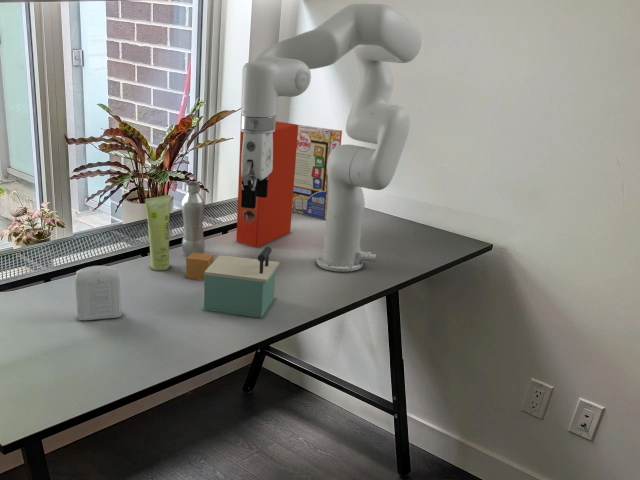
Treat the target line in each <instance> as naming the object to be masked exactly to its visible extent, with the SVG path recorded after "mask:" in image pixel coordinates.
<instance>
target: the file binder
mask: <svg viewBox="0 0 640 480" xmlns="http://www.w3.org/2000/svg"><path fill="white" fill-rule="evenodd" d="M298 125H299V124H296V123H289V122H283V121H277V120H275V131H274V132H273V170H272V172H271V173H270V174H269V175H268V179H266V180H268V192H267V197H266V198H264V197H256V207H255V208H254V209H252V208H243V207H241V196H242V181H243V179H242V176H241V161H242V147H243V137H244V132H242V131H239V132H240V134H239V157H238V161H239V162H238V187H237V211H236V212H237V214H236V240H235V241H236V242H237V243H239V244H242V245H246V246H250V247H254V248H259V247H262V246H264V245H266V244H268V243H271V242H273V241H275V240H277V239H280V238H281V237H284V236H286V235H289V234H290V233H291V227H292V216H293V215H292V213H293V212H292V202H293V189H294V176H295V163H296V149H297V136H298ZM252 182H253V181H251V183H252Z"/></svg>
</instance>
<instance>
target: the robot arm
mask: <svg viewBox="0 0 640 480" xmlns="http://www.w3.org/2000/svg"><path fill="white" fill-rule="evenodd" d="M421 48H422V33H421V30H420V29H419V27H418V25H417V24H416V23H414V21H412V20H411V19H409V18H408V17H407V16H405V15H404V14H403V13H401V12H400V11H399V10H398V9H396V8H394V7H392V6H390V5H388V4H382V3H352V4H349V5H347V6H346V5H345V7H343V8H341V9H340V10H339V11H337V12H336V13H335V14H333V15H332V16H331V17H329V18H328V19H327V20H326V21H324V22H322V23H321V24H320V25H318V26H316V27H315V28H314V29H311V30H309V31H304V32H303V33H302V32H301V33H299V34H296V35H294V36H291V37H288V38H286V39H283V40H281V41H278V42H276V43H274V44H272V45H271V46H269V47H268V48H266V49H265V50H263V51H262V52H261V53H260V54H258V55H257V56H256V57H255V58H254V59H253V60H252V61H248V62H246V63H244V65H243V67H242V72H241V99H240V100H241V101H240V128H239V130H240V131H242V132H244V137H243V147H242V161H241V176H242V179H243V181H242V196H241V207H243V208H252V209H254V208H255V207H256V197H264V198H266V197H267V192H268V180H266V179H268V175H269V174H270V173H271V172H272V170H273V132H274V131H275V122H276V121H277V120H276V119H277V118H276V116H277V101H278V100H277V99H278V97H285V98H286V97H288V98H293V97H298V96H300V95H302V94H304V93H305V92H306V91H307V90H308V89H309V87H310V84H311V79H312V73H311V70H316V69H320V68H325V67H329V66H331V65H334V64H336V63H337V61H339V60H340V59H341V58H343V57H344V56H345V55H347V54H348V53H349V52H351V51H352V50H353V52H354V54H355V57H356V60H357V65H358V70H359V81H358V85H357V88H356V92H355V95H354V98H353V99H352V100H353V101H352V103H351V106H350V110H349V113H348V116H347V119H346V122H345V133H346V135H347V136H348V137H349V138H350V139H352V140H354V141H355V140H356V141H358V142H363V143H368V144H374V145H376V148H370V147H366V146H361V145H354V144H348V143H347V144H341V145H340V146H337V147H336V148H334V149H333V150H332V151H331V153H330V154H329V157H328V160H327V175H328V204H327V215H326V219H325V228H324V236H323V237H324V239H323V250H322V254H320V255H319V256H318V257H317V258H316V264H317V266H319V267H320V268H321V269H324V270H327V271H331V272H336V273H337V272H338V273H341V272H342V273H349V272H355V271H358V270H360V269H362V268H363V266H364V261H365V262H372V263H373V262H376V258H377V254H374V253H373V254H372V252H371V251H363V250H361V246H360V245H361V238H362V237H361V236H362V229H363V219H364V213H365V211H364V210H365V195H364V191H363V189H368V190H373V191H381V190H384V189H386V188H387V187H388V186H389V185H390V184H391V182H392V180H393V178H394V176H395V173H396V170H397V168H398V165H399V162H400V159H401V156H402V154H403V151H404V147H405V144H406V142H407V139H408V135H409V132H410V127H411V126H410V125H411V124H410V123H411V122H410V121H411V120H410V116H409V113H408V111H407V109H405V108H404V107H402V106H400V105H397V104H390V103H389V102H390V99H391V96H392V92H393V89H394V79H393V73H392V71H391V68H390V66H389V64H388V63H395V64H406V63H410V62H412V61H414V59H416V58H417V56H418V55H419V53H420V51H421ZM240 131H239V132H240ZM251 181H253V182H252V183H251ZM362 188H363V189H362Z"/></svg>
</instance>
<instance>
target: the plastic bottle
mask: <svg viewBox="0 0 640 480" xmlns="http://www.w3.org/2000/svg"><path fill="white" fill-rule="evenodd" d="M200 191H201V184H200V183H199V182H187V183H186V184H185V192H186V193H185V194H184V196H183V197H182V199H181V202H180V207H181V213H182V221H183V230H182V231H183V232H182V240H181V250H182V252H183V254H184V255H186V256H189V255H190V254H191V253H192V252H194V253H203V254H204V252H205V250H206V243H205V238H204V228H203V225H204V224H203V223H204V213H205V205H206V204H205V200H204V198H203V196H202V195H201V193H200Z"/></svg>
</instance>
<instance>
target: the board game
mask: <svg viewBox="0 0 640 480" xmlns="http://www.w3.org/2000/svg"><path fill="white" fill-rule="evenodd" d="M297 125H298V136H297V149H296V163H295V176H294V189H293V202H292V213H298V214H301V215H306V216H311V217H315V218H319V219H323V220H326V215H327V204H328V175H327V160H328V157H329V154H330V153H331V151H332V150H333V149H334V148H336V147H337V146H340V145H342V137H343V130H342V129H340V130H339V129H332V128H324V127H317V126H311V125H304V124H297Z"/></svg>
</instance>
